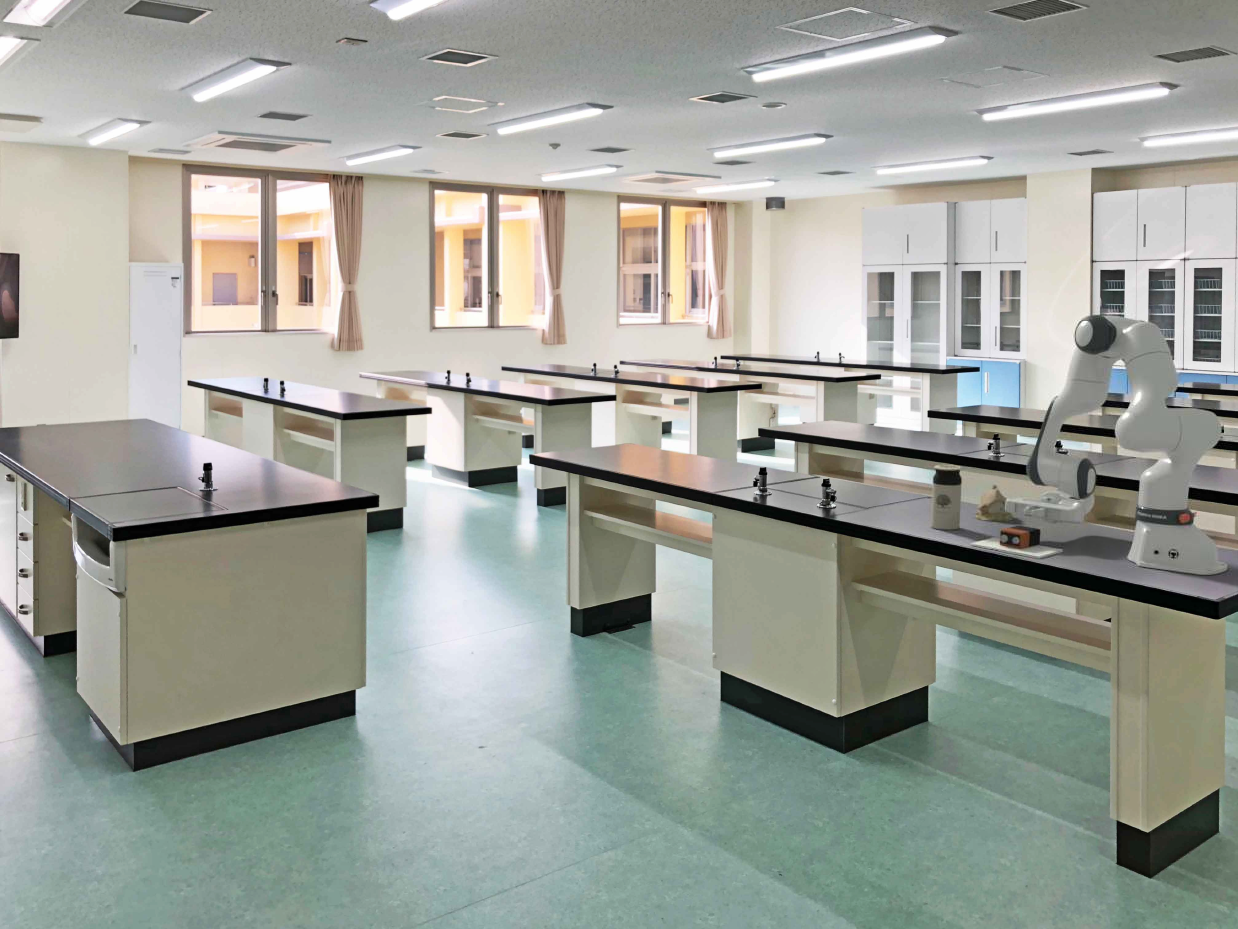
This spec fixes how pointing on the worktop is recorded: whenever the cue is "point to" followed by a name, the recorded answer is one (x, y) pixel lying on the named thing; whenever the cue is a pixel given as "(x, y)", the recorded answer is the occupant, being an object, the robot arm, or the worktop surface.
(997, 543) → the bench mat
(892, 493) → the worktop surface
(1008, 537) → the battery
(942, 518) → the travel mug
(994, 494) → the ceramic model
